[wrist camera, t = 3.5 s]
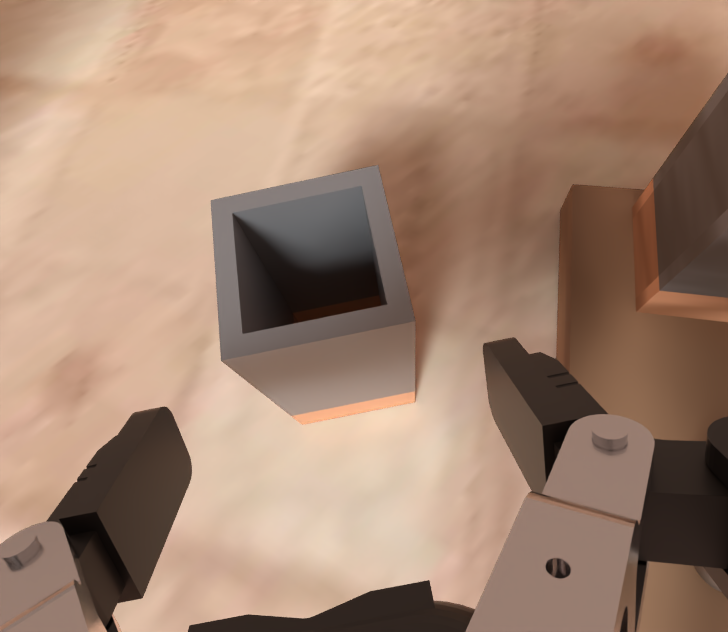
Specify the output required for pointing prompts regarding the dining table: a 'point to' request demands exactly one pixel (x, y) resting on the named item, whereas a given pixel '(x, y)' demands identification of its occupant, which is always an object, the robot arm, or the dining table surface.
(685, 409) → the pin board
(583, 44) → the dining table surface
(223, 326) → the sleeve
